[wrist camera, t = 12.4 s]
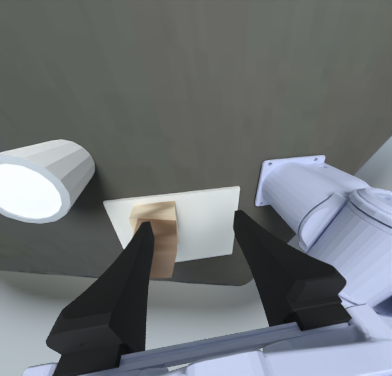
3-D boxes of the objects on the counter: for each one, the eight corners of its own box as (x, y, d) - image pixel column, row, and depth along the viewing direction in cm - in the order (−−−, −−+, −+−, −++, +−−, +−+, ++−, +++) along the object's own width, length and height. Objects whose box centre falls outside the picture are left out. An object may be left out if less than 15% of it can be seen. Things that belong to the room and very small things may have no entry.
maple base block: (174, 200, 23) (175, 213, 21) (179, 229, 26) (179, 243, 24) (133, 205, 23) (128, 219, 20) (143, 233, 26) (139, 248, 23)
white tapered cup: (92, 135, 18) (52, 156, 12) (106, 187, 21) (80, 223, 15) (23, 131, 17) (-61, 152, 11) (49, 186, 20) (-3, 225, 14)
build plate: (238, 186, 24) (240, 188, 23) (231, 251, 32) (232, 254, 32) (104, 200, 22) (102, 203, 22) (133, 265, 30) (132, 269, 30)
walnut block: (176, 220, 21) (177, 252, 17) (171, 244, 24) (171, 277, 19) (138, 217, 20) (128, 250, 16) (137, 243, 23) (129, 278, 18)
